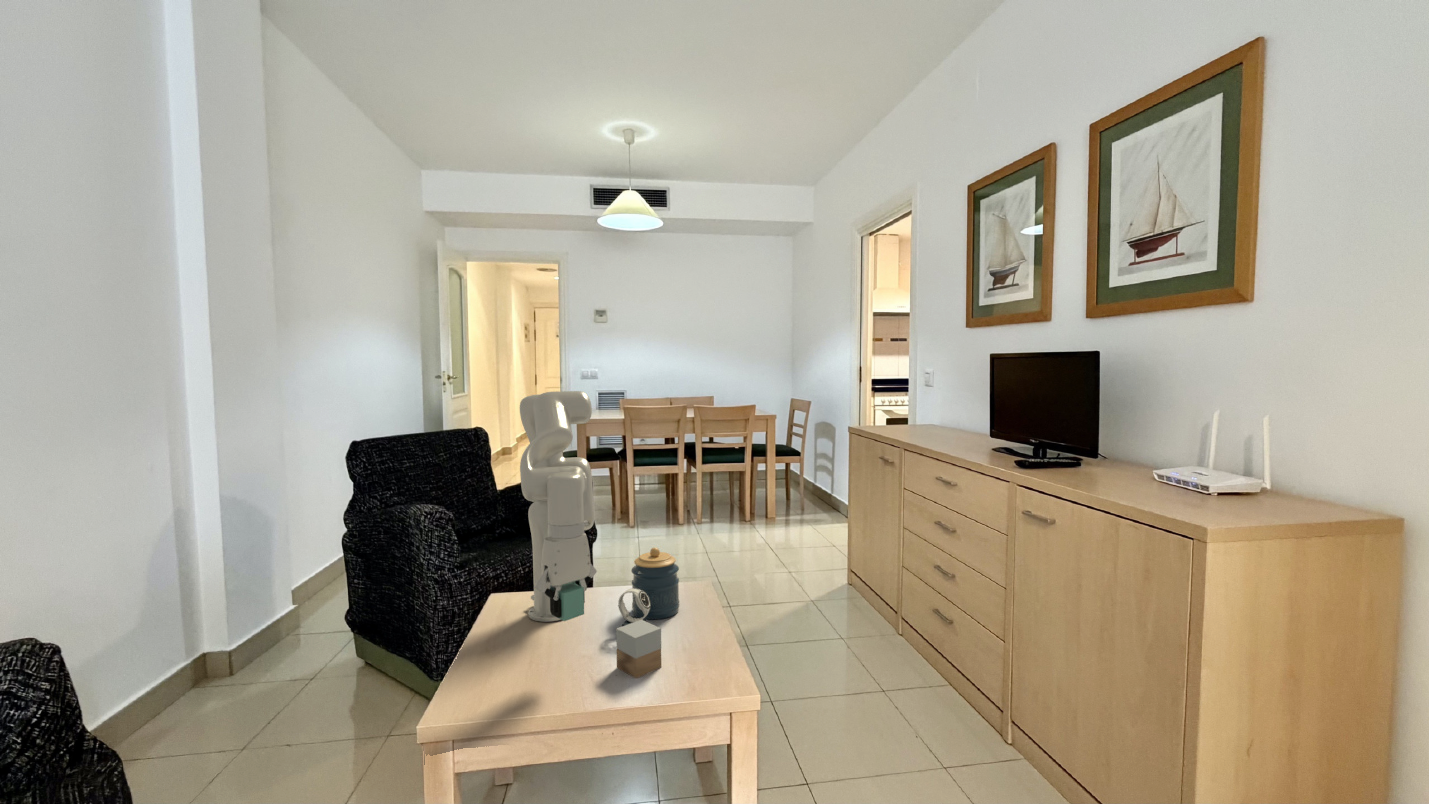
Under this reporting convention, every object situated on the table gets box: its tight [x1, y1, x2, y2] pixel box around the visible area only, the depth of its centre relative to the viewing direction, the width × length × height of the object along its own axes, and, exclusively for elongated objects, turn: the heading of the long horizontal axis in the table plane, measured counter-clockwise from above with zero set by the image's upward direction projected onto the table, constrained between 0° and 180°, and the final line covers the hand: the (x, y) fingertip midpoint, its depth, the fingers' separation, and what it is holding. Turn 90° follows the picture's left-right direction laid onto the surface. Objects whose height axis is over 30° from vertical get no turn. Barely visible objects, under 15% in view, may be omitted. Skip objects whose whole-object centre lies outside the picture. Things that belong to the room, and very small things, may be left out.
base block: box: [616, 648, 662, 679], centre depth 136 cm, size 7×7×4 cm
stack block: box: [559, 582, 585, 622], centre depth 134 cm, size 5×5×6 cm
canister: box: [630, 547, 680, 620], centre depth 168 cm, size 13×13×18 cm
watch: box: [617, 587, 651, 627], centre depth 154 cm, size 6×8×11 cm
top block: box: [615, 620, 662, 659], centre depth 136 cm, size 7×7×4 cm
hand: (567, 611), depth 134 cm, fingers closed on stack block, 5 cm apart
